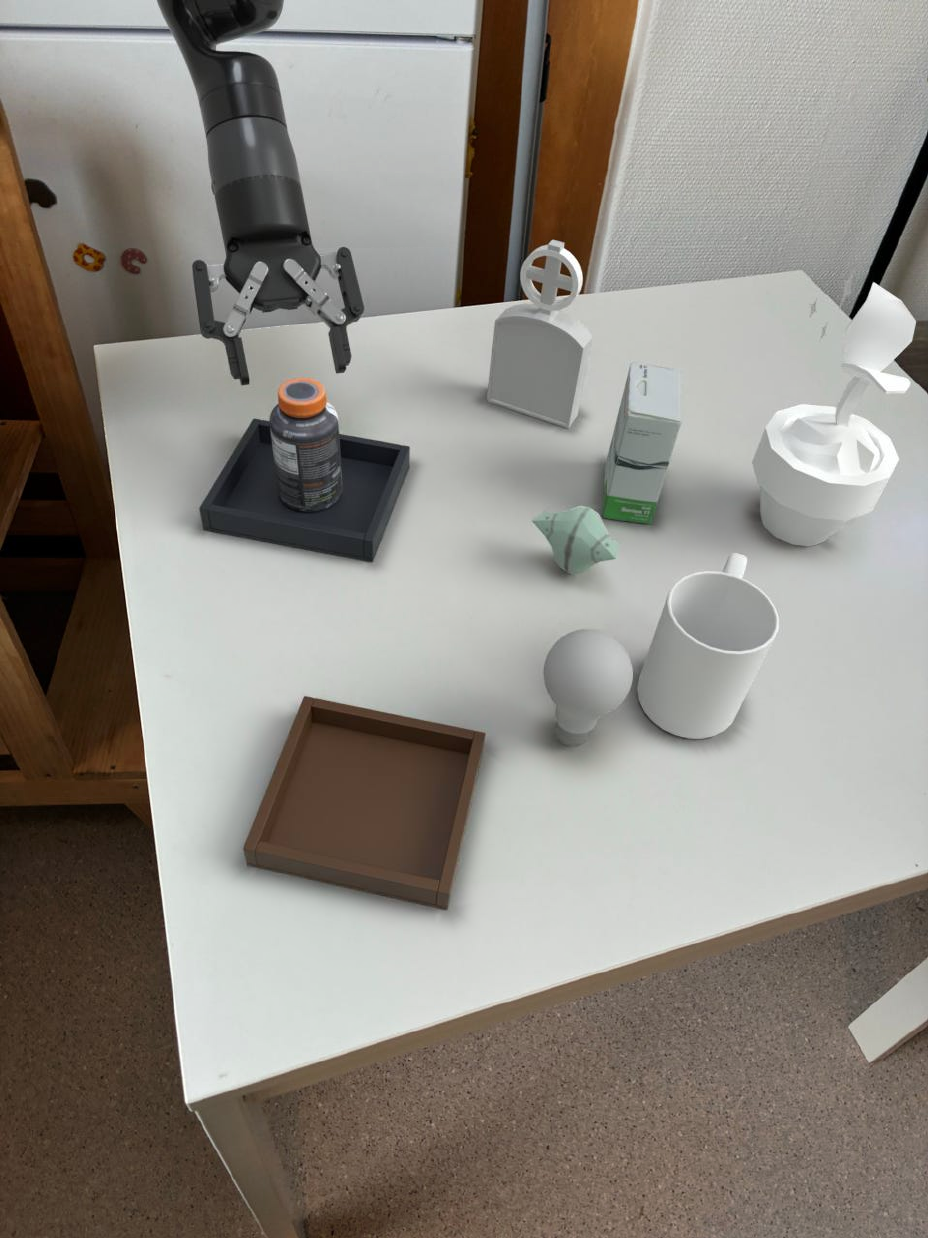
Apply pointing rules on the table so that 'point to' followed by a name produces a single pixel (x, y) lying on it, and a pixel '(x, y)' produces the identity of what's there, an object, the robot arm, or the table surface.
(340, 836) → the near tray
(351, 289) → the robot arm
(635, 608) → the table surface
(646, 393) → the ink box
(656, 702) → the mug
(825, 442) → the potted plant
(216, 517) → the far tray
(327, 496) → the pill bottle
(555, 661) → the lightbulb
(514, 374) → the gravestone
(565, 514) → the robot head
